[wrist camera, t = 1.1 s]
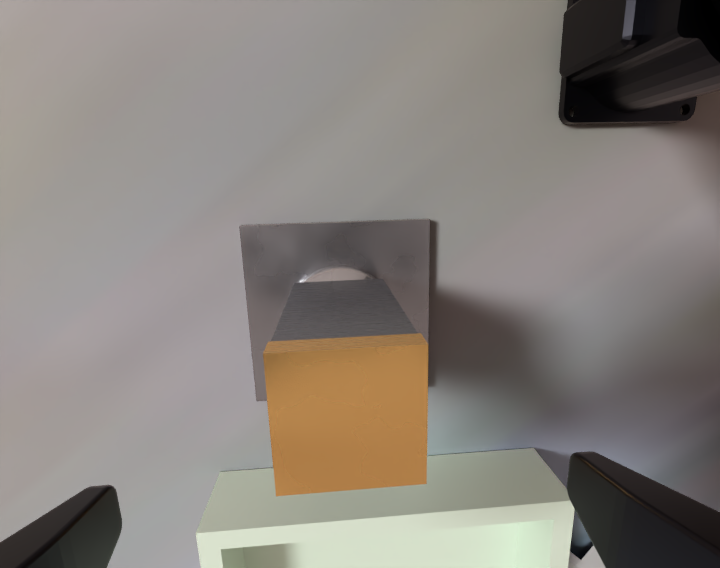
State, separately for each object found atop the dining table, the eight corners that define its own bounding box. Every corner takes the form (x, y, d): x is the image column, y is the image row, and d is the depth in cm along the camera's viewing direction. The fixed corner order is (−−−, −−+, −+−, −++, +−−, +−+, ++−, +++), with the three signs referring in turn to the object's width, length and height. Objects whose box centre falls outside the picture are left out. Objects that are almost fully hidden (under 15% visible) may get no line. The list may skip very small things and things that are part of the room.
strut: (383, 277, 18) (428, 344, 10) (385, 361, 18) (426, 483, 11) (293, 281, 17) (262, 353, 9) (299, 366, 18) (276, 496, 10)
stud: (426, 218, 19) (437, 221, 17) (425, 384, 21) (434, 403, 19) (242, 225, 18) (231, 228, 17) (258, 395, 21) (251, 416, 19)
